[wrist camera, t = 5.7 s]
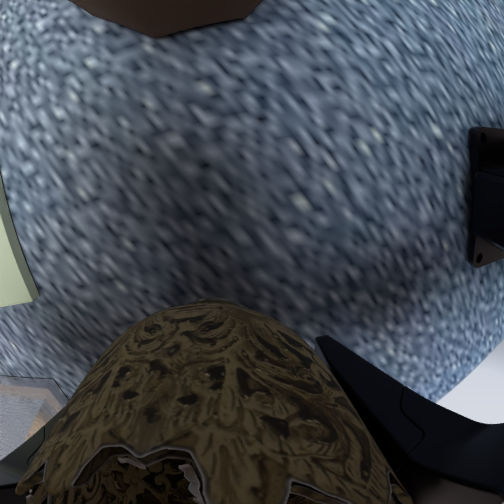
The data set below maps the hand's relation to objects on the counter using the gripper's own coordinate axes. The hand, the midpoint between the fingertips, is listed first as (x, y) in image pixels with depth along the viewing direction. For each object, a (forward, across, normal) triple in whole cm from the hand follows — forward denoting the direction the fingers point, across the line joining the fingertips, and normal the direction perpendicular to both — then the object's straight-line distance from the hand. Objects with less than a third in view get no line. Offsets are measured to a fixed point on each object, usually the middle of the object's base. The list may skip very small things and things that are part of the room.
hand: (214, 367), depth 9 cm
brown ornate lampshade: (+2, 0, 0) cm, 2 cm away
